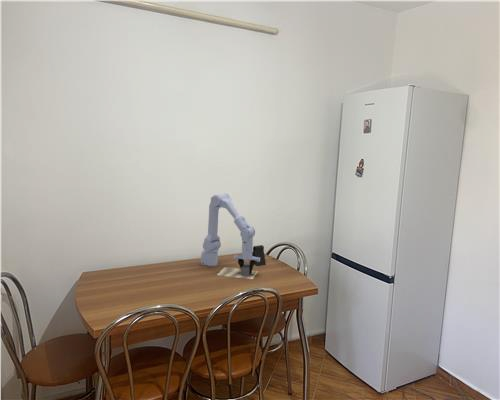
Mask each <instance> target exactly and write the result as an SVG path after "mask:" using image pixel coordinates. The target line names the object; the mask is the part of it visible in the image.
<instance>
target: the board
mask: <svg viewBox="0 0 500 400" xmlns="http://www.w3.org/2000/svg"><path fill="white" fill-rule="evenodd" d="M258 272H259V270H255V269H254V270H253V269H252V273H251V274H250V275H249V276H248V277H247V276H241V268H235V267H226V266H224V267H223V268H222V269H221V270H220V271H219V272H218V273H217V274H216V275H217V276H221V277H230V278H238V279H245V280H253V279H254V278H255V276H256V275H257V273H258Z"/></svg>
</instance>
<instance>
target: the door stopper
mask: <svg viewBox="0 0 500 400" xmlns="http://www.w3.org/2000/svg"><path fill="white" fill-rule="evenodd" d="M264 251H265V247H264V245H262V244H261V245H254V246H253V248H252V256H254V257H260V262H258V261H256V262H255V266H257V267H263V266H266V265H267V261H266V256H265V252H264Z"/></svg>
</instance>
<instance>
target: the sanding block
mask: <svg viewBox="0 0 500 400" xmlns="http://www.w3.org/2000/svg"><path fill="white" fill-rule="evenodd" d="M240 269H241V276H247V277H248V276H249V275H250V263H245V262H244V265H243V266H242V268H240Z"/></svg>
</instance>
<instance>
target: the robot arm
mask: <svg viewBox="0 0 500 400" xmlns="http://www.w3.org/2000/svg"><path fill="white" fill-rule="evenodd" d="M221 208H223V209H225V210H227V211H228V213H229V214H230V215H231V216H232V217H233V219H234V220H233V223H234V225H235V226H236V227H237V228H238V230H239V231H240V233H239V234H240V237H241V241H242V242H241V254H235V255H233V260H238V261H237V264H238V265H239V267H240V268H239V269H241V268H242V266H243V265H244V264H245V261H249V264H250V274H251V273H252V270H253V268H254V265H256V263H255V262H256V261H258V262H260V257H254V256H252V252H253V247H254V246H253V245H254V243H253V241H254V236H255V234H256V229H255V227H253V226H251V225H250V224H248V222H247V220H246V218H245V217H244V216H243V215H240V213H239V212H238V210H237V208H236V207H235V206H234V204H233V202H232V198H231V197H230V195H229V194H228V193H221V194H214V195H212V196H211V197H210V203H209V205H208V227H207V236H205V237H204V239H203V240H204V241H203V243H202V248H203V250H202V251H201V254H200V265H202V266H209V267H215V266H217V265H218V264H219V263H218V261H219V260H218V259H219V258H218V257H219V250H220V248H221V245H222V243H221V240H220V239H221V237H220V236H219V235H218V229H219V228H218V227H219V211H220V210H219V209H221Z"/></svg>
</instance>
